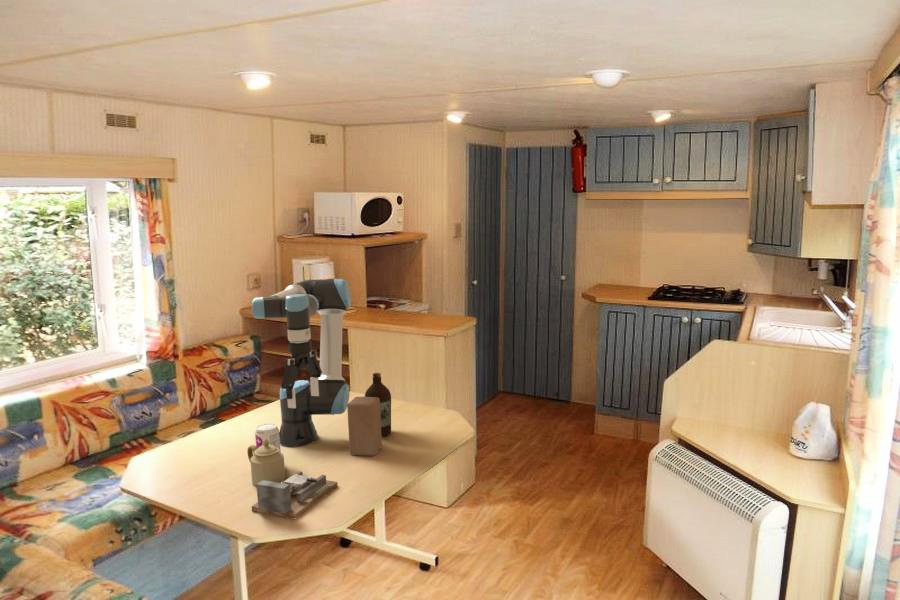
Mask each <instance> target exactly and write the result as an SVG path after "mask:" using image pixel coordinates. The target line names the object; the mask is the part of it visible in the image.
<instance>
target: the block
mask: <svg viewBox="0 0 900 600" xmlns="http://www.w3.org/2000/svg"><path fill="white" fill-rule="evenodd" d="M346 410H347V411H346V412H347V425H348V443H349V444H348V445H349V455H351V456H367V457H369V456H371V457H374V456H376V455H377V453H378V452H379V451H380V449H381V448H382V446H383V443H382V442H383V440H382V438H383V437H382V436H381V416H380V399H379V398H378V397H365V396H355V397H353V399H352V400H351V401H350V400H349V401H348V405H347V408H346Z"/></svg>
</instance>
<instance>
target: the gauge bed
mask: <svg viewBox="0 0 900 600" xmlns="http://www.w3.org/2000/svg"><path fill="white" fill-rule="evenodd" d="M294 474H296V475H302V476H304V474H303V471H301V470H298V471H296V472H295V473H294ZM294 474H292V475H291V476H293V475H294ZM291 476H288V478H290V477H291ZM288 478H287V479H288ZM287 479H286V478H285V480H287ZM312 479H315V480H317V482H311V483H310V484H308V485H307V486H306V487H304V488H303V489H301V490H300V491H299V492H297V493H296V495H290V485H289V484H284V481H285V480H284V481H283V482H282V483H277V482H271V481H265V480H262V481H260V482H259V483H257V484H256V485H257V486H256V493H257V494H256V495H257V502H255V504H253V505H251V512H255V511H257V512H256V513H260V512H261V513H262V514H266V515H271V514H272V516H276V515H278V516H277V517H282V516H283V517H282V518H287V517H288V518H287V519H292V518H293V520H296V519H297V518H299V517H300V516H301V515H302V514H304V513H305V512H306V511H307V510H309V509H310V508H312V507H313V506H314V505H315V504H317V503H318V502H319V501H320V500H322V499H323V498H325V497H326V496H327V495H328V494H330V493H331V492H332V491H334V488H335V489H336V488H337V487H339V486H338V481H334V480H327V476H326V475H325V474H321V475H319V476H318V477H317V478H314V477H312ZM325 495H326V496H325ZM322 497H323V498H322ZM321 498H322V499H321ZM318 500H319V501H318ZM317 501H318V502H317ZM313 504H314V505H313ZM312 505H313V506H312ZM308 508H309V509H308ZM261 513H260V514H261ZM267 513H268V514H267ZM299 515H300V516H299ZM295 518H296V519H295Z"/></svg>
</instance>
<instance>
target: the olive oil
mask: <svg viewBox="0 0 900 600" xmlns="http://www.w3.org/2000/svg"><path fill="white" fill-rule="evenodd" d="M381 375H382V374H381V372H373V373H372V383H371V385H369V387H368V388H367V389H366V391H365V394H364V397H378V398H379V399H380V416H381V436H382V438H385V437H387V436H388V437H389V436H390V435H391V434H392V394H391V392H390V389H389V388H388V387H387V386H386V385H384V383H383V382H382V376H381Z"/></svg>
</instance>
